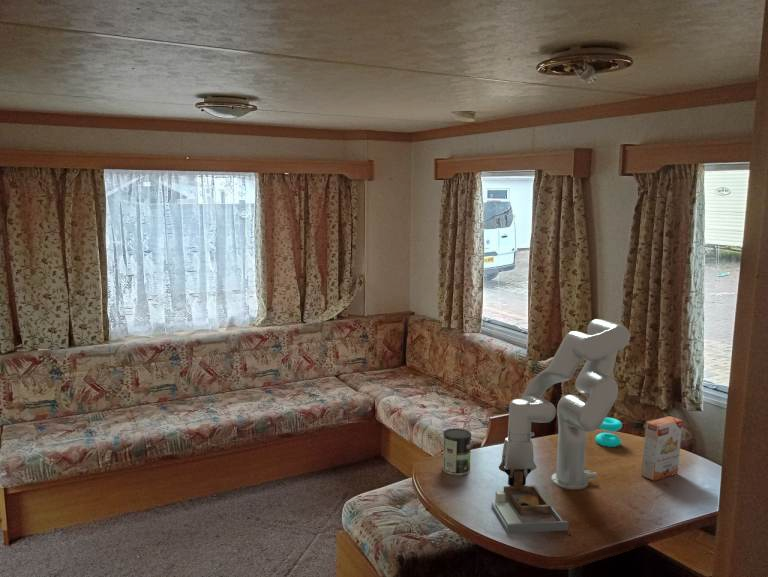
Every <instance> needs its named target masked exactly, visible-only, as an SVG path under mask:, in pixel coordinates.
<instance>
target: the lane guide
mask: <svg viewBox="0 0 768 577" xmlns="http://www.w3.org/2000/svg"><path fill="white" fill-rule="evenodd" d="M508 503H509V502H508ZM509 504H510V506H511V507H512V509H513V510H514V512H515V513H516V515H517V516H518V518H519V519H520V521H521V522H522V523H511V524H506V523H505V521H504V519H503V518H502V516H501V514H500V513H499V511H498V509H497V508H496V506H495V502H491V508H492V510H493V512H494V513H495V515H496V517H497V519H499V522H500V523H501V524H502V527H503V528H504V530H505V532H506V533H507V534H517V533H520V534H521V533H541V532H542V533H543V532H559V531H563V532H564V531H565V532H566V531H568V528H569V527H568V526H569V521H568V520H563V519H562V518H561V516H560V515H559V513H558V512H557V511H556V510H555V508H554V507H553V505H551V514H552V515H553V516H554V518H555V519H556V521H537V522H536V521H534V522H524V520H523V518H522V517H521V515H519V514H518V512H517V511H516V509H515V508H514V506H513V505H512V503H511V502H510V503H509Z"/></svg>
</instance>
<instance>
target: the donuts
mask: <svg viewBox="0 0 768 577" xmlns="http://www.w3.org/2000/svg"><path fill="white" fill-rule="evenodd" d="M599 428H600V429H601V430H603V431H607V432H600V433H599V434H597V435H596V436H595V442H596V443H597V444H598V445H600V446H603V447H606V446H607V448H616V446H617V447H619V446H620V445H621V444H622V440H621V438H620V437H619V436H618V435H617V434H614V433H612V432H617V431H620V430H621V429H622V428H623V423H622V422H621V421H620V420H619V419H616V418H615V417H614V418H613V417H608V416H606V418H605V420H604V421H603V423H602V425H601V426H600V427H599ZM599 428H598V429H599ZM610 432H611V433H610Z"/></svg>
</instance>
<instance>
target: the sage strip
mask: <svg viewBox="0 0 768 577" xmlns="http://www.w3.org/2000/svg"><path fill="white" fill-rule="evenodd" d="M505 501H506V497H505V493H504V492H503V490H495V499H494V505H495V506H496V508H497V509H498V511H499V513H500V514H501V516H502V518H503V519H504V521H505V523H506V524H511V523H522V522H521V521H520V519H519V518H518V516H517V515H516V513H515V512H514V510H513V509H512V507H511V506H510V504H509V502H505Z"/></svg>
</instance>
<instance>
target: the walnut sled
mask: <svg viewBox="0 0 768 577" xmlns="http://www.w3.org/2000/svg"><path fill="white" fill-rule="evenodd" d="M513 477H514V486H510V485H507V486H505V485H504V486H503V490H502V491H503V492H504V493H505V499H507V502H508V503H510V502H511V503H512V505H513V506H514V508H515V509H516V511H517V512H518V514H519V515H520V516H521V515H522V516H524V515H525V516H526V515H542V514H543V515H544V514H545V515H546V514H547V515H548V514H550V515H551V514H552V512H551V506H552V505H551V504H550V502H549V501H548V500H547V499H546V497H545V496H544V495H543V493H541V491H540V490H539V489H538V487H537V486H536V484H534V485H533V484H530V485H528V484H527V485H524V486H523V471H522V470H521V469H514V473H513ZM514 495H533V496H535V497H537V498H538V499H539V505H529V506H520V505H519V504H518V502H517V501H518V500H516V498H515V497H514Z"/></svg>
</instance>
